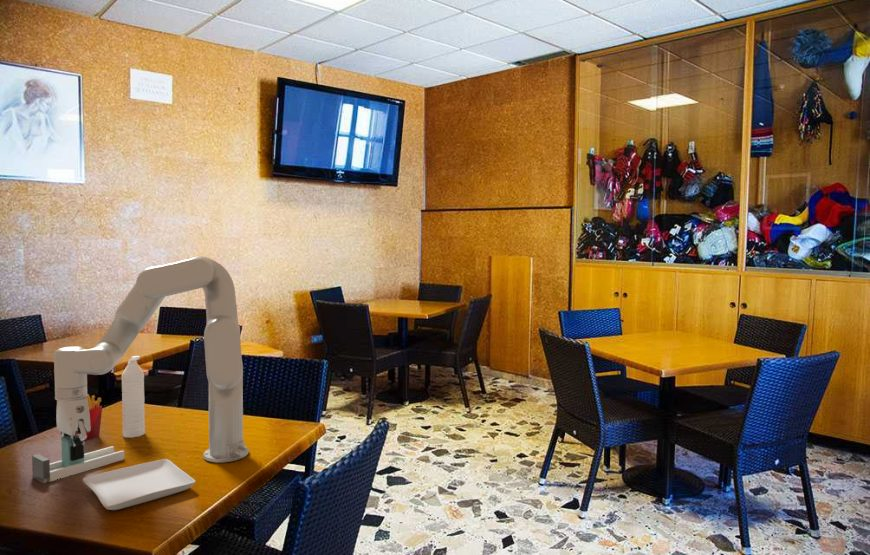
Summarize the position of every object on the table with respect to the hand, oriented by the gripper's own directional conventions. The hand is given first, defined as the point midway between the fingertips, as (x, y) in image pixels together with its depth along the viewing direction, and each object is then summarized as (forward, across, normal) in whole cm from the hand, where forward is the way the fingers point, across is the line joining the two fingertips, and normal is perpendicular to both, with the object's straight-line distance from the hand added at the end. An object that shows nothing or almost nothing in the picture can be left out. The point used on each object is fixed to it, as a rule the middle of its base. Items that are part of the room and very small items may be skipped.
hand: (73, 456), depth 161 cm
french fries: (+4, +23, -14) cm, 27 cm away
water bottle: (+4, +16, -26) cm, 31 cm away
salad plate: (+4, -27, -4) cm, 28 cm away
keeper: (+2, 0, 0) cm, 2 cm away
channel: (+4, 0, -2) cm, 4 cm away
